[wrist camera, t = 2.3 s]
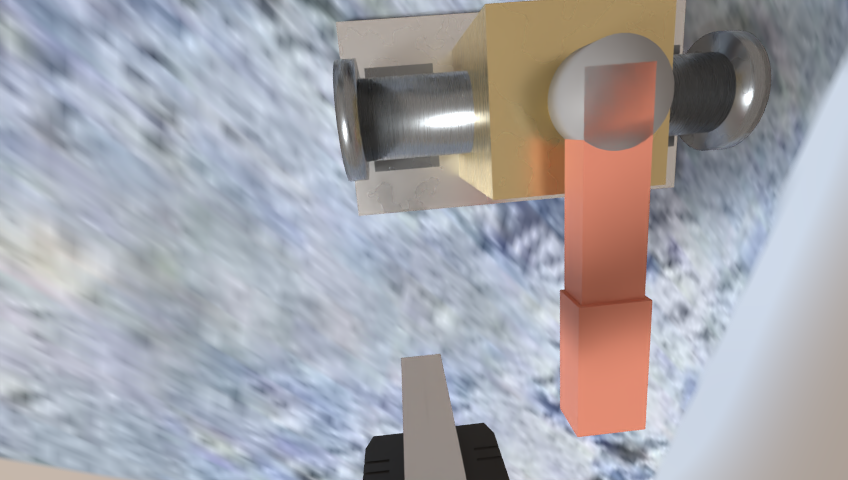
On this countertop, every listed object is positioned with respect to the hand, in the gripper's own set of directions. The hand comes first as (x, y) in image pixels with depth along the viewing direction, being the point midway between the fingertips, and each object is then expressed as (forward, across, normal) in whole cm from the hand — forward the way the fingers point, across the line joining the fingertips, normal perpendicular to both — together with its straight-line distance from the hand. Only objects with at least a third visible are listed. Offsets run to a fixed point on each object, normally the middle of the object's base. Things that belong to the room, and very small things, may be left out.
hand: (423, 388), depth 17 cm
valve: (+15, +8, +10) cm, 20 cm away
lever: (+3, +8, +4) cm, 9 cm away
